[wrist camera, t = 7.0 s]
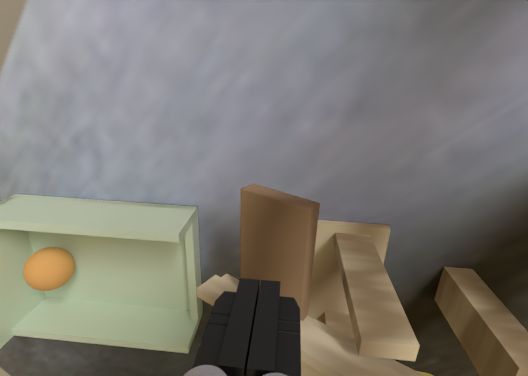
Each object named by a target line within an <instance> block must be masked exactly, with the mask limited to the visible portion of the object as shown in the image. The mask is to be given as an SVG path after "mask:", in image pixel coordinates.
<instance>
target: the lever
mask: <svg viewBox="0 0 528 376" xmlns="http://www.w3.org/2000/svg"><path fill="white" fill-rule="evenodd" d="M319 205H320V203H317V202H314V201H310V200H307V199H303V198H300V197H296V196H293V195H290V194H286V193H283V192H279V191H276V190H273V189H269V188H266V187H262V186H259V185H256V184H251V185H248V186H246V187H244V188H242V189H241V234H240V278H247V279H258V280H260V283H261V280H270V281H281V283H280V296H283V297H293V298H295V300H296V302H297V304H298V306H299V308H300V331H301V332H300V335H301V376H424V375H422V374H420V373H418V372H416V371H415V370H413V369H411V368H409V367H407V366H405V365H403V364H401V363H399V362H397V361H395V360H393V359H388V358H378V357H368V356H359V355H358V351H357V346H356V342H355V339H353V338H351V337H349V336H347V335H345V334H343V333H341V332H339V331H337V330H335V329H333V328H331V327H329V326H327V325H326V324H324V323H322V322H320V321H318V320H316V319H314V318H312V317H310V316H308V307H309V298H310V289H311V280H312V270H313V261H314V252H315V242H316V233H317V224H318V215H319ZM238 284H239V280H238V279H237V278H235V277H233V276H231V275H229V274H227V273H226V274H225V275H224V276H222V277H219V276H217V275H214V276H213V277H212V278H210V279H209V280H207V281H206V282H204V283H203V284H202V285H200V286H199V287H197V288H196V289H197V297H199V298H200V299H202V300H204V301H205V302H207V303H209V304H210V305H212V306H214V303H215V300H216V299H217V298H218V297H219V296H220V295H221V294H222V293H223V292H224V291H229V292H236V291H237V287H238ZM200 344H201V343H200Z"/></svg>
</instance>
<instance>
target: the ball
mask: <svg viewBox="0 0 528 376" xmlns="http://www.w3.org/2000/svg"><path fill="white" fill-rule="evenodd" d="M74 268H75V263H74V260H73V257H72V256H71V255H70V253H69V252H67V251H66V250H64V249H62V248H58V247H47V248H43V249H40V250H38V251H36V252H35V253H33V254H32V255H31V256H30V257H29V258H28V259H27V261H26V262H25V264H24V268H23V277H24V279H25V281H26V283H27V284H28V285H29V286H31V287H32V288H34V289H37V290H40V291H50V290H54V289H57V288H59V287H61V286H63V285H64V284H65V283H67V282H68V281H69V279H70V278H71V276H72V275H73V272H74Z"/></svg>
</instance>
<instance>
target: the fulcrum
mask: <svg viewBox="0 0 528 376" xmlns="http://www.w3.org/2000/svg"><path fill="white" fill-rule="evenodd" d="M390 230H391V228H390V227H389V225H385V224H371V223H357V222H342V221H328V220H318V224H317V233H316V242H315V252H314V261H313V270H312V280H311V289H310V298H309V307H308V316H310V317H312V318H314V319H316V320H318V321H320V322H322V323H324V324H326V325H327V326H329V327H331V328H333V329H335V330H337V331H339V332H341V333H343V334H345V335H347V336H349V337H351V338H353V339H355V342H356V346H357V351H358V355H359V356H368V357H378V358H388V359H397V360H407V361H415V360H416V357H417V353H418V350H419V346H420V345H419V343H418V341H417V339H416V337H415V334H414V332H413V330H412V328H411V325H410V323H409V321H408V319H407V316H406V314H405V312H404V310H403V307H402V305H401V303H400V301H399V299H398V296H397V294H396V292H395V290H394V287H393V285H392V283H391V281H390V278H389V276H388V274H387V272H386V269H385V267H384V265H383V264H384V259H385V254H386V250H387V245H388V240H389V235H390ZM434 300H435V301H436V303H437V305H438V307H439V308H440V310H441V312H442V313H443V315H444V317H445V318H446V320H447V322H448V323H449V325H450V327H451V328H452V330H453V332H454V333H455V335H456V337H457V338H458V340H459V342H460V343H461V345H462V347H463V348H464V350H465V352H466V353H467V355H468V357H469V358H470V360H471V362H472V363H473V365H474V367H475V368H476V370H477V372H478V373H479V375H480V376H528V332H527V331H526V329H525V328H524V327H523V326H522V325H521V324H520V323H519V321H518V320H517V319H516V318H515V317H514V316H513V315H512V313H511V312H510V311H509V310H508V309H507V308H506V307H505V305H504V304H503V303H502V302H501V301H500V300H499V299H498V297H497V296H496V295H495V294H494V293H493V292H492V291H491V289H490V288H489V287H488V286H487V285H486V284H485V283H484V282H483V280H482V279H481V278H480V277H479V276H478V275H477V274H476V272H475V271H474V270H473V269H468V268H455V267H444V268H443V271H442V275H441V278H440V281H439V285H438V288H437V291H436V295H435V298H434Z"/></svg>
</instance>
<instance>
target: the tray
mask: <svg viewBox="0 0 528 376" xmlns="http://www.w3.org/2000/svg"><path fill="white" fill-rule="evenodd" d="M47 247H58V248H62V249H64V250H66V251H67V252H69V253H70V255H71V256H72V257H73V260H74V263H75V268H74V272H73V275H72V276H71V278H70V279H69V281H68V282H67V283H65V284H64V285H63V286H61V287H59V288H57V289H54V290H50V291H40V290H37V289H34V288H32V287H31V286H29V285H28V284H27V283H26V281H25V279H24V277H23V268H24V264H25V262H26V261H27V259H28V258H29V257H30V256H31V255H32V254H33V253H35V252H36V251H38V250H40V249H43V248H47ZM200 285H202V282H201V263H200V244H199V226H198V207H197V206H183V205H168V204H153V203H139V202H124V201H110V200H95V199H80V198H66V197H51V196H36V195H22V194H15V195H13V196H10V197H8V198H6V199H4V200H2V201H0V348H1V347H3V346H4V345H5V344H6V343H7V342H8V341H9V340H10V339H11V338H12V337H13V336H14V335H15V336H25V337H35V338H44V339H54V340H63V341H73V342H83V343H92V344H102V345H112V346H121V347H131V348H140V349H150V350H160V351H169V352H179V353H189V350H190V347H191V345H192V342H193V339H194V336H195V334H196V331H197V328H198V326H199V323H200V320H201V317H202V315H203V301H202V299H200V298H199V297H197V289H196V288H197V287H199V286H200Z"/></svg>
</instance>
